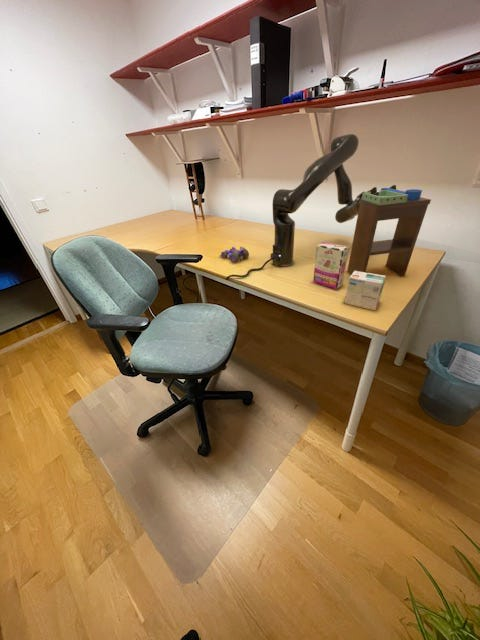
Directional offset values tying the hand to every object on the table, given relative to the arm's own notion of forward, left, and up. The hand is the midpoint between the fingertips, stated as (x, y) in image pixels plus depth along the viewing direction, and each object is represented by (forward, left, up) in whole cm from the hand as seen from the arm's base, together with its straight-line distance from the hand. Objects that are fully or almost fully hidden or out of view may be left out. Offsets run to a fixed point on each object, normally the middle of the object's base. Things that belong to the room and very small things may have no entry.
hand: (385, 188), depth 105 cm
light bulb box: (-34, -24, -32) cm, 52 cm away
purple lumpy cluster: (-51, +45, -32) cm, 75 cm away
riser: (-10, -11, -32) cm, 35 cm away
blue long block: (-3, -8, -2) cm, 9 cm away
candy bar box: (-33, -6, -32) cm, 46 cm away
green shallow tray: (-14, -10, -2) cm, 17 cm away
